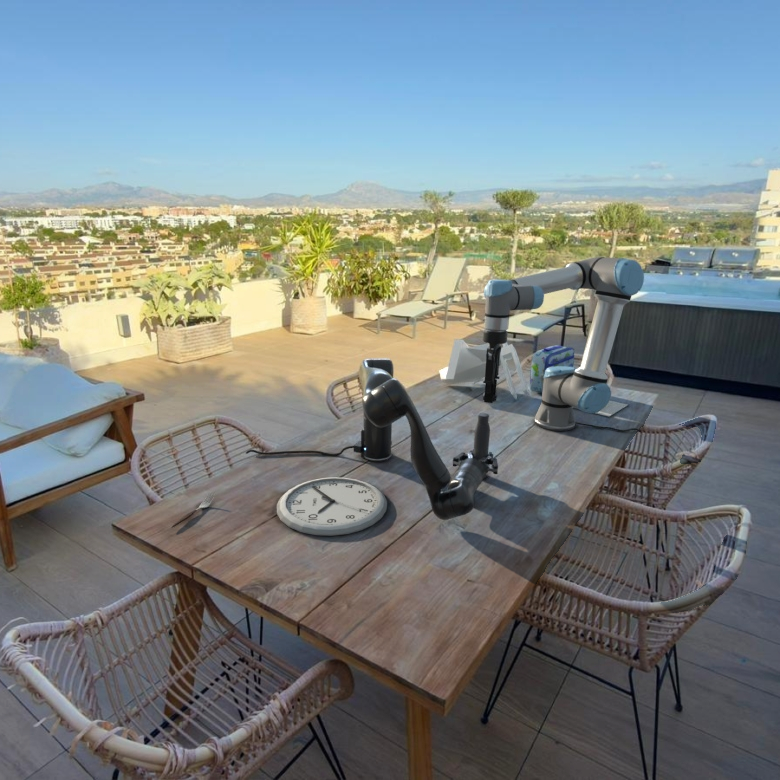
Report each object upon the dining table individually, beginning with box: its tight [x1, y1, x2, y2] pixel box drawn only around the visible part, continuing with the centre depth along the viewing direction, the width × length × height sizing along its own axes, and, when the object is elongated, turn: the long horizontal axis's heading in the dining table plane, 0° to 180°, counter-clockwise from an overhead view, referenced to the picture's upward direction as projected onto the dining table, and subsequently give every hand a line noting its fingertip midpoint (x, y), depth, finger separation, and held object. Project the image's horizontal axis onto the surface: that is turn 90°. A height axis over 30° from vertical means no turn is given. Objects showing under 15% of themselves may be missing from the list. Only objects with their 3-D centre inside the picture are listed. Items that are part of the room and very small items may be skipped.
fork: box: [171, 493, 217, 529], centre depth 137 cm, size 3×16×2 cm, turn 160°
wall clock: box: [276, 476, 388, 537], centre depth 142 cm, size 30×2×30 cm
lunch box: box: [529, 345, 575, 394], centre depth 245 cm, size 26×11×21 cm, turn 134°
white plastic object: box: [438, 338, 531, 400], centre depth 245 cm, size 37×45×31 cm
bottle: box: [473, 412, 491, 480], centre depth 158 cm, size 4×4×20 cm
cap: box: [482, 392, 498, 403], centre depth 171 cm, size 4×4×2 cm
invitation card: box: [573, 399, 629, 418], centre depth 226 cm, size 21×1×15 cm
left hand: (482, 453), depth 162 cm, fingers closed on bottle, 4 cm apart
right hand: (489, 400), depth 171 cm, fingers closed on cap, 4 cm apart
